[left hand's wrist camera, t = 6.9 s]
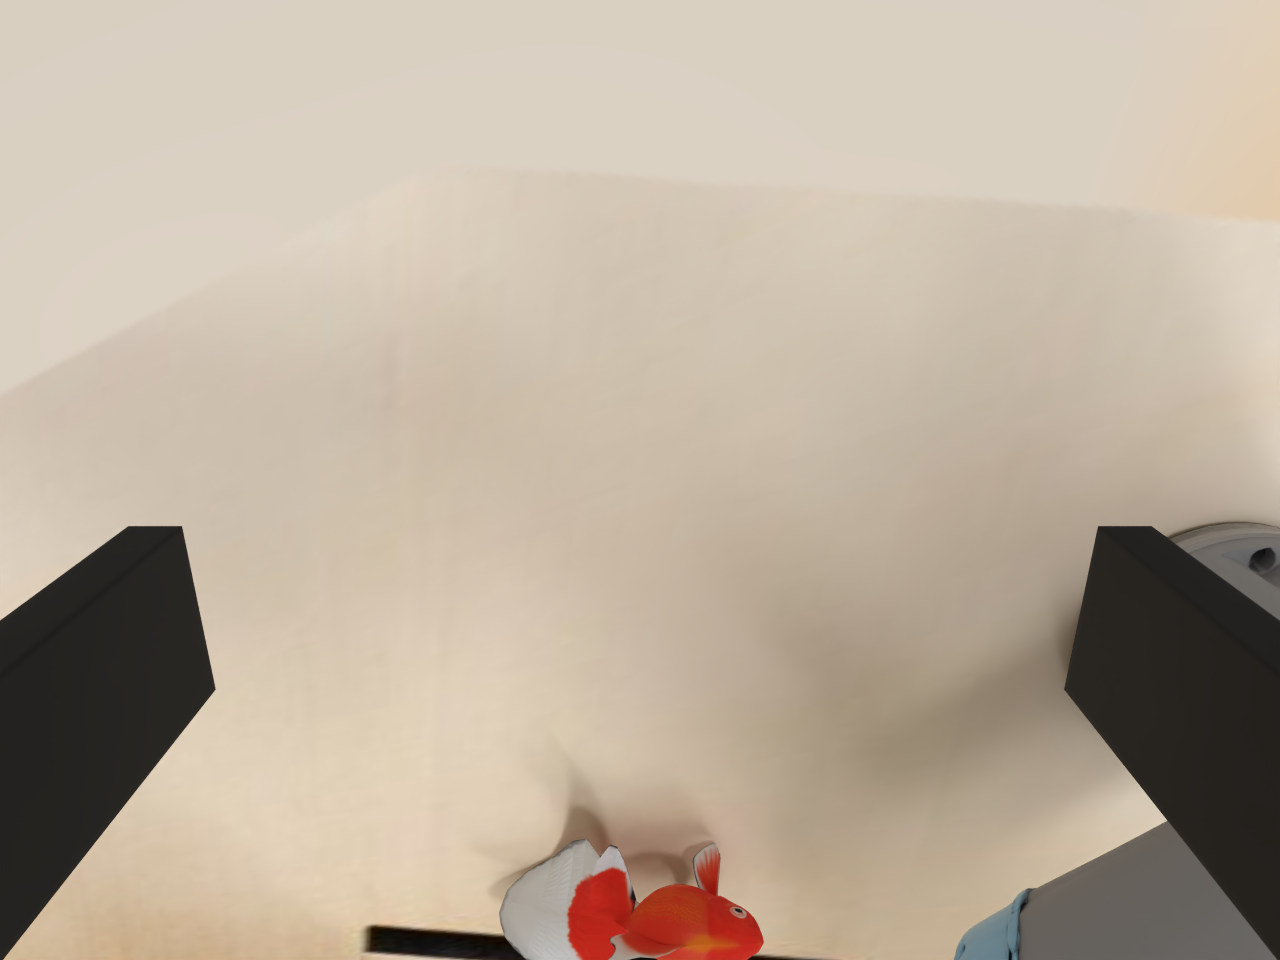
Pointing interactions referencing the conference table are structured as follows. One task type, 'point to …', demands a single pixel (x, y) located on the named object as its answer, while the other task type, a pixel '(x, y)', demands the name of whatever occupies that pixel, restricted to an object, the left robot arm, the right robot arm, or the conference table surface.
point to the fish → (623, 912)
